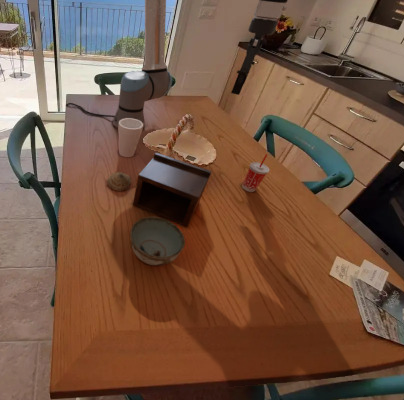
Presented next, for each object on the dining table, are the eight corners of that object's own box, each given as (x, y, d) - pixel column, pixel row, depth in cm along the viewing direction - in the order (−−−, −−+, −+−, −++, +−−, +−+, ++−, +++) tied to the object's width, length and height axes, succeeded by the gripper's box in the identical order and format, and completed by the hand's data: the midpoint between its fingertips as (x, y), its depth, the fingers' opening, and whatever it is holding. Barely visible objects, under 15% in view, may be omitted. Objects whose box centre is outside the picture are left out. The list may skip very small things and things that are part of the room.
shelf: (132, 204, 87) (139, 171, 78) (148, 184, 95) (155, 152, 87) (186, 227, 80) (200, 194, 71) (198, 203, 89) (211, 171, 80)
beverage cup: (259, 188, 97) (279, 154, 88) (254, 195, 94) (273, 161, 84) (243, 180, 100) (260, 147, 91) (236, 187, 97) (254, 154, 87)
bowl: (165, 286, 65) (173, 267, 60) (117, 261, 70) (120, 241, 65) (183, 249, 74) (192, 230, 69) (139, 229, 79) (144, 209, 74)
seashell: (134, 173, 96) (130, 177, 89) (130, 188, 98) (127, 193, 91) (112, 168, 98) (107, 171, 90) (109, 182, 100) (104, 187, 92)
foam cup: (112, 155, 109) (115, 125, 100) (119, 145, 115) (122, 116, 106) (134, 161, 106) (139, 131, 98) (140, 150, 113) (145, 121, 104)
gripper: (277, 25, 73) (244, 101, 87) (280, 16, 90) (252, 81, 104) (248, 21, 76) (221, 96, 90) (256, 13, 93) (232, 77, 107)
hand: (237, 88), depth 97 cm, fingers open, 13 cm apart
